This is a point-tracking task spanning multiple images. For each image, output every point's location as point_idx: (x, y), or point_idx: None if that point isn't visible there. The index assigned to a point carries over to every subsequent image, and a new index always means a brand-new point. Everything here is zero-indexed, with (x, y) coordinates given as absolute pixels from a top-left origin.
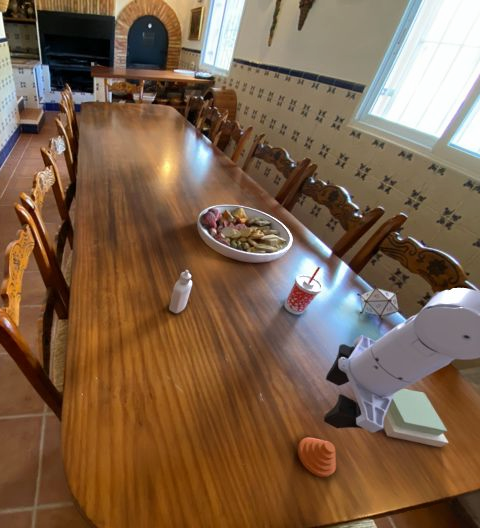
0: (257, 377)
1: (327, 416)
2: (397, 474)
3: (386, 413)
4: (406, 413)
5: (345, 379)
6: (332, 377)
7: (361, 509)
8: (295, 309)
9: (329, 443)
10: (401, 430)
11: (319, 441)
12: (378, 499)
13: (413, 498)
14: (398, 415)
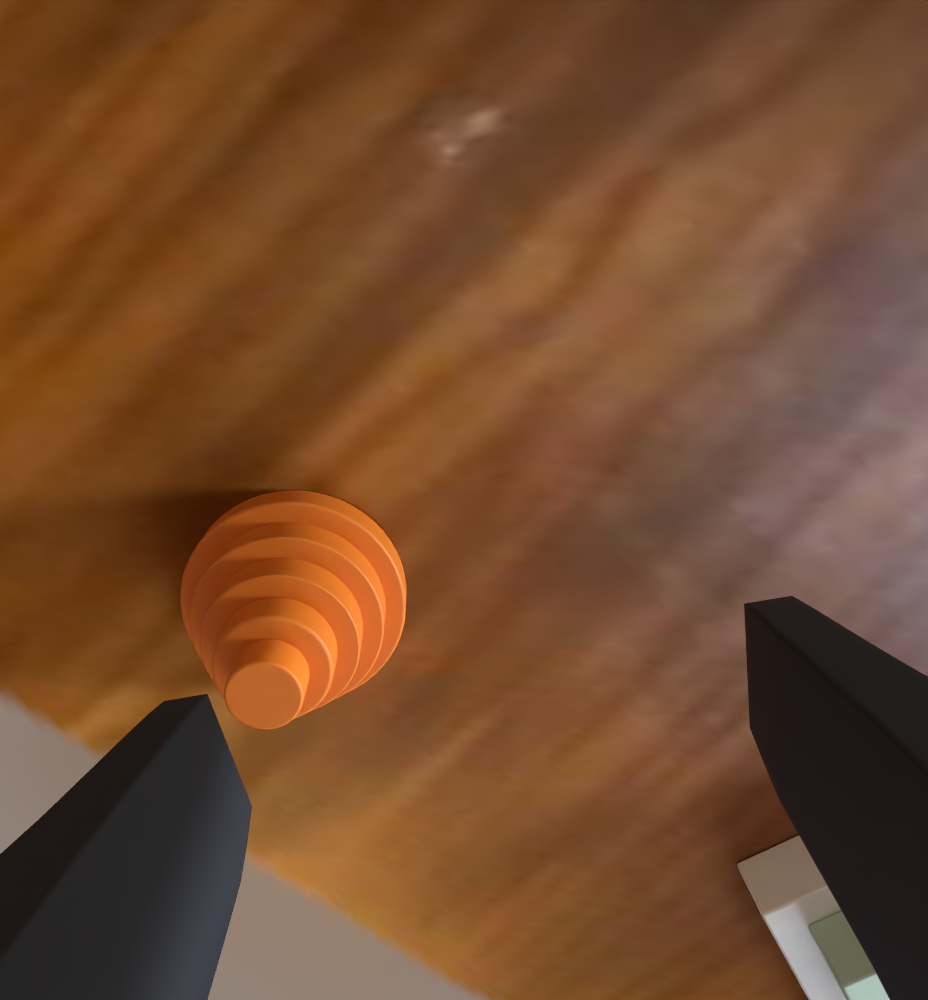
0: (630, 28)
1: (105, 763)
2: (537, 919)
3: None
4: None
5: (825, 844)
6: (784, 686)
7: None
8: None
9: (283, 690)
10: (795, 942)
11: (286, 621)
12: (335, 872)
13: (465, 977)
14: None
